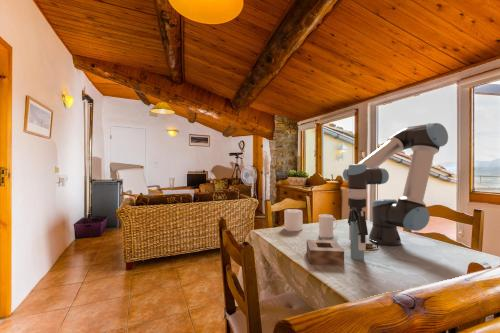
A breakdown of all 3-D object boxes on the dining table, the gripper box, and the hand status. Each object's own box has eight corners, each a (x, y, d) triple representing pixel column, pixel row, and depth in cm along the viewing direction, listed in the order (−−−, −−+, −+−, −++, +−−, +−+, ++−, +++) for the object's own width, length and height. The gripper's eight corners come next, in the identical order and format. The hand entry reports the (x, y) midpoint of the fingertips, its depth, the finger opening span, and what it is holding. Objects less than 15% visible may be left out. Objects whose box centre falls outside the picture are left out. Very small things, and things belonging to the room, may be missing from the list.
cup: (284, 230, 152) (284, 212, 152) (284, 226, 163) (284, 208, 163) (303, 231, 150) (302, 212, 150) (302, 226, 161) (301, 209, 161)
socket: (336, 253, 114) (336, 240, 114) (344, 265, 100) (344, 251, 100) (306, 251, 116) (306, 239, 116) (310, 264, 102) (310, 250, 102)
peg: (360, 256, 110) (360, 221, 110) (364, 260, 105) (364, 224, 105) (350, 255, 110) (350, 221, 110) (353, 259, 106) (353, 224, 106)
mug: (333, 232, 147) (333, 213, 147) (341, 236, 139) (341, 216, 139) (315, 234, 144) (315, 214, 144) (323, 238, 136) (323, 217, 136)
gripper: (341, 194, 120) (341, 235, 121) (357, 202, 96) (357, 254, 96) (356, 194, 120) (356, 236, 120) (376, 202, 95) (376, 255, 95)
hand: (356, 244), depth 108 cm, fingers open, 13 cm apart
